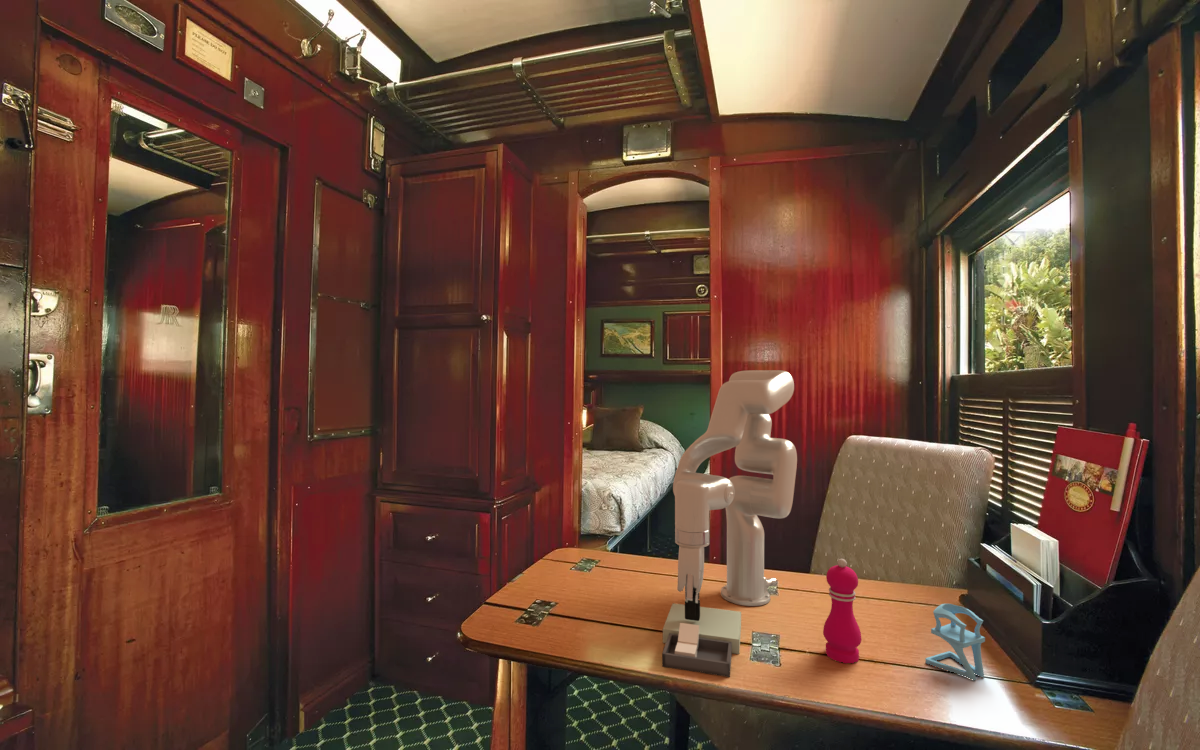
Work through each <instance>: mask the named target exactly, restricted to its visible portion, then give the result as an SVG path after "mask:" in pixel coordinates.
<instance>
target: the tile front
mask: <svg viewBox="0 0 1200 750" xmlns="http://www.w3.org/2000/svg"><path fill="white" fill-rule="evenodd" d="M675 654H677V655H684V656H690V657H697V644H691V643H684V642H677V646H676V649H675Z"/></svg>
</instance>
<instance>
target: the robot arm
mask: <svg viewBox="0 0 1200 750" xmlns="http://www.w3.org/2000/svg"><path fill="white" fill-rule="evenodd" d="M794 382H795V381H794V378H793V376H792V375H791V374H790V372H788V371H786V370H778V369H776V370H773V369H771V370H768V369H766V370H759V369H758V370H757V369H755V370H752V369H751V370H741V371H737V372H736V371H735V372H733V373H732V374H731V375H730V377H729V379H728V381H725V382H724V383H722V384H721V386H720V387H719V390H718V393H717V396H716V399H715V404H714V407H713V409H712V413H711V416H710V420H709V423H708V427H707V430H706V431H705V432H704V433H703V434H702V435H700V436H699V437H698V438H697V439H695V440H694V442H693V443H692V444H690V445H689V446H688V447H687V448H686V449H685V451H684V452H683V453H682V456H681V457H680V459H679V461H678V465H677V468H676V471H675V474H674V478H673V484H672V492H673V495H674V527H675V528H674V532H675V533H674V543H675V544H677V545H678V546H679V548H678V557H677V558H678V559H677V560H678V561H677V562H678V564H677V591H678V592H680V593H681V592H683V590H684V597H685V598H684V605H685V619H687V620H695V621H699V619H700V607H701V599H700V592H701V589H702V585H703V583H704V582H703V581H704V570H705V547H708V546H709V545H710V511H714V510H715V511H716V510H722V509H725V515H726V584H725V585H724V586H723V587H721V589H720V596H721V597H722V599H724V600H725V601H727V602H730V603H732V604H735V605H738V606H739V605H740V606H744V607H745V606H746V607H759V606H763V605H766V604H769V603H770V601H771V594H770V592H769V591H768V588H769V587H773V586H776V585H777V583H778V582H777V579H776V578H775V577H769V578H766V577H765V530H764V527H763V524H762V521H761V520H760V518H759V517H758V516H761V517H766V518H773V519H785V518H787V517H788V516H789V515H790V513H791V511H792V507H793V503H794V502H793V501H794V495H795V494H794V493H795V485H796V477H797V476H796V475H797V469H798V468H797V466H798V465H797V464H798V453H797V449H796V446H795V444H794V443H793V442H792V441H790V440H788V439H785V438H779V437H778V438H777V437H771V435H772V434H771V432H772V425H773V423H772V418H771V414H773V413H775V412H776V411H779V410H780V409H781V408H782V407H783V406H785V405H786V404H788V402H789V401H790V400H791V398H792V396H793V395H794V392H795V383H794ZM732 448H735V450H734V451H735V452H734V463H735V465H736V467H737V468H738V469H739V470H742V471H745V472H750V473H758V474H766V475H772V476H773V477H772V478H773V479H772V478H764V477H757V476H750V475H748V476H747V475H733V476H731V477H729V478H727V477H726V476H725V477H724V476H720V475H716V474H714V475H713V474H708V473H701V472H697V470H698V469H699V466H700V465H701V464H702V463H703V462H704V461H705V460H707V459H708V458H710V457H713V456H714V455H717V454H719V453H722V452H724V451H728V450H731V449H732Z"/></svg>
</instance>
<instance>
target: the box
mask: <svg viewBox="0 0 1200 750" xmlns="http://www.w3.org/2000/svg"><path fill="white" fill-rule="evenodd" d="M678 636H679V635H678V634H671V633H669V636H668V639H667V642H666V643H665V645H664V648H663V651H662V653H661V655H662V657H661V665H662V667H664V668H669V669H674V670H675V669H676V670H682V671H688V672H696V673H700V674H708V675H712V676H713V675H714V676H720V677H726V678H727V677H728V678H730V677H731V668H732V667H731V665H732V654H733V653H732V642H728V641H721V640H713V639H706V638H699V643H698V649H697V657H690V656H684V655H677V654H675V649H676V646H677V642H678Z"/></svg>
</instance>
